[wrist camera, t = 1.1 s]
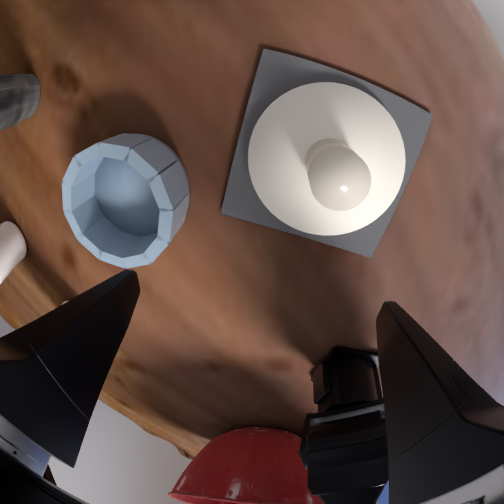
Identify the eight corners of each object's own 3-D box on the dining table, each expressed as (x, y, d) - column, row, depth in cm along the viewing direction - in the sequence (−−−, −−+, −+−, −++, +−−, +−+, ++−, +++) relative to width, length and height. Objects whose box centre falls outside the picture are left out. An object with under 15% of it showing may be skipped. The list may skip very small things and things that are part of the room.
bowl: (201, 144, 18) (181, 157, 15) (182, 252, 23) (166, 281, 20) (94, 126, 18) (62, 137, 14) (92, 225, 23) (67, 248, 19)
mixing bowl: (174, 436, 49) (157, 497, 36) (213, 387, 34) (188, 493, 21) (290, 464, 53) (285, 519, 40) (374, 424, 38) (380, 504, 25)
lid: (421, 119, 15) (456, 131, 11) (367, 246, 20) (383, 285, 16) (272, 62, 14) (267, 51, 10) (233, 207, 20) (219, 240, 16)
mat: (430, 114, 15) (433, 115, 14) (369, 255, 21) (370, 258, 21) (264, 49, 14) (263, 48, 14) (221, 211, 21) (220, 213, 20)
